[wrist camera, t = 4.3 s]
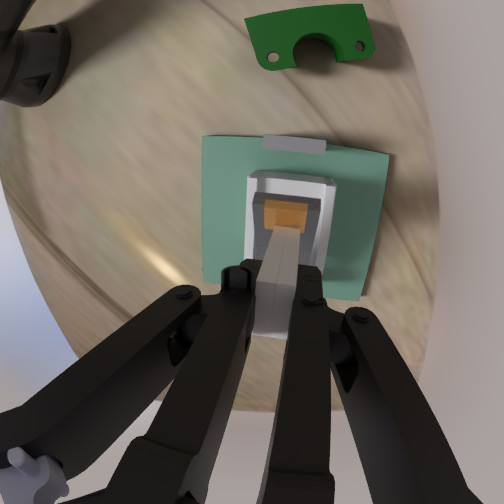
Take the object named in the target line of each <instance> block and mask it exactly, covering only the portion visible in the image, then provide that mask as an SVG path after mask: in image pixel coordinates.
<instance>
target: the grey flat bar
mask: <svg viewBox="0 0 504 504" xmlns="http://www.w3.org/2000/svg"><path fill="white" fill-rule="evenodd" d="M252 210H253V222H254V233H255V245H256V257H257V260H263V259H264V256H265V253H266V250H267V248H268V245H269V242H270V239H271V236H272V233H273V230H274V227H275V226H280V227H289V228H297V229H300V242H299V256H298V264H301V265H308V264H309V260H310V256H311V252H312V248H313V243H314V239H315V235H316V230H317V226H318V221H319V217H320V212H321V199H319V198H311V197H302V196H293V195H284V194H274V193H264V192H255V193H254V197H253V202H252Z"/></svg>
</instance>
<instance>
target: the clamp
mask: <svg viewBox="0 0 504 504" xmlns="http://www.w3.org/2000/svg"><path fill="white" fill-rule="evenodd" d="M244 20H245V23H246V26H247V29H248V32H249V35H250V38H251V41H252V44H253V48H254V51H255V54H256V57H257V60H258V63H259V64H260V66H261V67H263V68H264V69H266V70H270V71H276V70H281V69H287V68H294V67H297V66H296V64H295V62H294V59H293V48H294V47H295V45H296V44H297V43H298V42H300V41H301V40H304V39H307V38H316V39H320V40H323V41H325V42H326V43H327V44H329V45H330V46H331V47H332V49H333V51H334V53H335V56H336V62H338V61H347V60H362V59H368V58H370V57H371V56H372V55H373V54H374V51H375V46H374V42H373V38H372V34H371V30H370V26H369V23H368V19H367V16H366V13H365V10H364V7H363V4H336V5H322V6H312V7H303V8H296V9H289V10H283V11H278V12H272V13H267V14H262V15H258V16H254V17H249V18H245V19H244ZM356 42H359V43H360V44H361V45H362V47H363V49H362V51H359V50H357V49H356V47H355V43H356ZM273 52H274V53H277V54H278V55H279V59H278V61H276V62H270V61H269V60H268V55H269V54H270V53H273Z"/></svg>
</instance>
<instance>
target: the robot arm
mask: <svg viewBox="0 0 504 504" xmlns="http://www.w3.org/2000/svg"><path fill="white" fill-rule="evenodd" d="M35 1H36V0H0V100H3V101H6V102H9V103H12V104H15V105H18V106H21V107H36V106H39V105H41V104H43V103H44V102H45V101H46V100H47V99H48V98H49V97H50V96H51V95H52V94H53V92H54V91H55V89H56V88H57V86H58V84H59V82H60V80H61V78H62V76H63V74H64V71H65V68H66V65H67V62H68V58H69V53H70V35H69V33H68V31H67V29H66V28H64V27H62V26H58V25H44V26H40V27H35V28H31V29H26V30H17V29H18V28H19V26H20V25H21V23H22V21H23V20H24V18H25V16H26V15H27V13H28V12H29V10H30V9H31V7H32V6H33V4H34V3H35ZM299 242H300V229H297V228H289V227H280V226H275V227H274V230H273V233H272V236H271V239H270V242H269V245H268V248H267V250H266V253H265V256H264V259H263V260H256V259H248V258H247V259H245V260H244V261H242V262H241V263H240V265H234V266H228V267H226V268H224V269H223V270H222V271H221V291H220V292H219V294H216V295H201V291H200V290H199V289H198V288H197V287H195V286H192V285H180V286H176V287H174V288H172V289H170V290H169V291H168V292H166V293H165V294H164V295H162V296H161V297H160V298H158V299H157V300H156V301H154V302H153V303H152V304H150V305H149V306H148V307H146V308H145V309H144V310H142V311H141V312H140V313H139V314H137V315H136V316H135V317H133V318H132V319H131V320H129V321H128V322H127V323H125V324H124V325H123V326H121V327H120V328H119V329H118V330H116V331H115V332H114V333H112V334H111V335H110V336H108V337H107V338H106V339H105V340H103V341H102V342H101V343H99V344H98V345H97V346H96V347H94V348H93V349H92V350H90V351H89V352H88V353H87V354H85V355H84V356H83V357H81V358H80V359H79V360H78V361H76V362H75V363H74V364H73V365H71V366H70V367H69V368H67V369H66V370H65V371H64V372H62V373H61V374H60V375H59V376H57V377H56V378H55V379H54V380H52V381H51V382H50V383H49V384H48V385H46V386H45V387H44V388H42V389H41V390H40V391H39V392H37V393H36V394H35V395H34V396H33V397H31V398H30V399H29V400H28V401H27V402H25V403H24V404H23V405H21V406H19V407H16V408H13V409H11V410H8V411H5V412H2V413H0V493H1V496H2V498H3V501H4V503H5V504H54V502H55V501H56V500H57V499H58V498H59V497H65V496H67V495H68V494H69V487H68V485H67V484H66V481H67V480H69V479H72V478H74V477H76V476H77V475H79V474H80V473H81V472H83V471H85V470H86V469H87V468H88V467H89V466H90V465H92V463H94V462H95V461H96V460H97V459H98V458H99V457H100V456H101V455H102V454H103V453H104V452H105V451H106V450H107V449H108V448H109V447H110V446H111V445H112V444H113V443H114V442H115V441H116V440H117V438H118V437H119V436H120V435H121V434H122V433H123V432H124V431H125V430H126V429H127V428H128V427H129V426H130V425H131V424H132V423H133V422H134V421H135V420H136V419H137V418H138V417H139V416H140V414H141V413H142V412H143V411H144V410H145V409H146V408H147V407H148V406H149V405H150V404H151V403H152V402H153V401H154V400H155V399H156V397H157V396H158V395H159V394H160V393H161V392H162V391H163V390H164V389H165V388H166V387H167V386H168V384H169V383H170V382H171V381H172V380H173V379H174V378H175V379H174V381H173V382H172V384H171V386H170V388H169V390H168V392H167V394H166V396H165V398H164V400H163V402H162V404H161V406H160V408H159V410H158V412H157V414H156V416H155V418H154V420H153V422H152V424H151V426H150V428H149V429H148V431H147V433H146V434H145V435H144V436H139V437H136V438H135V439H133V440H132V441H131V443H130V444H129V446H128V447H127V449H126V451H125V453H124V455H123V457H122V459H121V460H120V462H119V464H118V466H117V468H116V470H115V472H114V474H113V476H112V478H111V480H110V482H109V483H108V486H107V487H106V488H105V489H102V490H99V491H96V492H93V493H91V494H88V495H85V496H82V497H79V498H76V499H73V500H69V501H66V502H62V503H58V504H204V503H205V500H206V496H207V492H208V484H209V480H210V476H211V473H212V470H213V467H214V464H215V461H216V457H217V454H218V451H219V448H220V445H221V442H222V438H223V435H224V432H225V428H226V425H227V422H228V419H229V415H230V412H231V409H232V405H233V402H234V399H235V395H236V392H237V388H238V385H239V381H240V378H241V375H242V371H243V368H244V364H245V361H246V357H247V354H248V350H249V346H250V343H251V333H252V329H253V333H252V335H259V336H265V337H272V338H279V339H287V342H286V348H285V353H284V358H283V360H284V361H283V368H282V375H281V381H280V387H279V393H278V399H277V405H276V411H275V417H274V423H273V429H272V433H271V439H270V444H269V449H268V454H267V459H266V464H265V469H264V473H263V478H262V483H261V488H260V491H259V496H258V499H257V503H256V504H334V494H335V493H334V492H335V481H334V476H333V475H332V474H331V473H330V470H329V460H330V459H329V458H330V434H331V372H330V368H331V371H332V374H333V377H334V380H335V383H336V385H337V388H338V391H339V394H340V397H341V400H342V403H343V406H344V409H345V412H346V415H347V418H348V422H349V424H350V428H351V431H352V434H353V437H354V440H355V443H356V447H357V450H358V453H359V457H360V460H361V463H362V466H363V470H364V473H365V476H366V480H367V483H368V487H369V491H370V494H371V498H372V501H373V504H483V503H482V502H481V501H480V500H479V499H478V498H477V497H476V496H475V495H474V494H473V493H472V492H471V490H470V489H469V488H468V487H467V484H466V482H465V479H464V477H463V475H462V472H461V470H460V468H459V465H458V463H457V461H456V459H455V456H454V454H453V452H452V450H451V448H450V446H449V443H448V441H447V439H446V438H445V435H444V433H443V431H442V429H441V427H440V425H439V423H438V421H437V419H436V417H435V416H434V414H433V412H432V410H431V408H430V406H429V404H428V402H427V400H426V398H425V397H424V395H423V393H422V391H421V390H420V388H419V386H418V384H417V382H416V381H415V379H414V377H413V375H412V374H411V372H410V370H409V368H408V367H407V365H406V363H405V362H404V360H403V358H402V357H401V355H400V353H399V352H398V350H397V348H396V347H395V345H394V343H393V342H392V340H391V339H390V337H389V335H388V334H387V332H386V331H385V329H384V327H383V326H382V324H381V323H380V321H379V320H378V318H377V317H376V315H375V314H374V313H373V312H372V311H370V310H368V309H366V308H363V307H351V308H349V309H347V310H346V312H345V314H343V313H340V312H337V311H335V310H332V309H331V308H329V307H328V306H327V302H326V299H325V298H323V287H322V275H321V271H320V270H319V268H318V267H317V266H310V265H301V264H298V256H299Z"/></svg>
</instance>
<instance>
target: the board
mask: <svg viewBox="0 0 504 504" xmlns="http://www.w3.org/2000/svg"><path fill="white" fill-rule="evenodd" d="M388 162H389V155H388V154H383V153H378V152H373V151H368V150H362V149H357V148H351V147H344V146H338V145H331V144H326V140H320V139H312V138H303V137H293V136H282V135H263V138H259V137H238V136H202V255H203V281H204V282H209V283H216V284H221V271H222V270H223V269H224V268H226V267H228V266H234V265H240V263H241V262H242V261H244V260H245V259H247V258H248V259H256V260H257V257H256V245H255V233H254V222H253V210H252V202H253V197H254V193H255V192H264V193H274V194H284V195H293V196H302V197H311V198H319V199H321V212H320V217H319V221H318V226H317V230H316V235H315V239H314V243H313V248H312V252H311V256H310V260H309V264H308V265H310V266H317V267H318V268H319V270H320V271H321V275H322V287H323V298H332V299H341V300H351V301H359V300H360V296H361V293H362V289H363V286H364V282H365V279H366V275H367V271H368V267H369V263H370V259H371V255H372V251H373V247H374V242H375V238H376V233H377V228H378V223H379V218H380V213H381V208H382V202H383V196H384V190H385V184H386V177H387V170H388Z"/></svg>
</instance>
